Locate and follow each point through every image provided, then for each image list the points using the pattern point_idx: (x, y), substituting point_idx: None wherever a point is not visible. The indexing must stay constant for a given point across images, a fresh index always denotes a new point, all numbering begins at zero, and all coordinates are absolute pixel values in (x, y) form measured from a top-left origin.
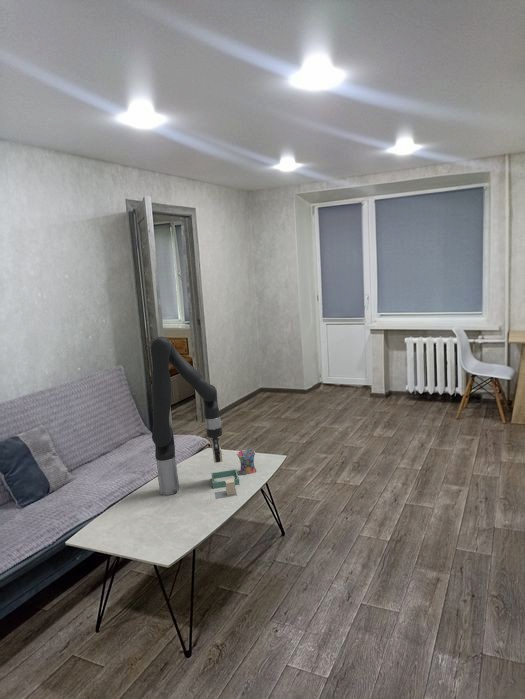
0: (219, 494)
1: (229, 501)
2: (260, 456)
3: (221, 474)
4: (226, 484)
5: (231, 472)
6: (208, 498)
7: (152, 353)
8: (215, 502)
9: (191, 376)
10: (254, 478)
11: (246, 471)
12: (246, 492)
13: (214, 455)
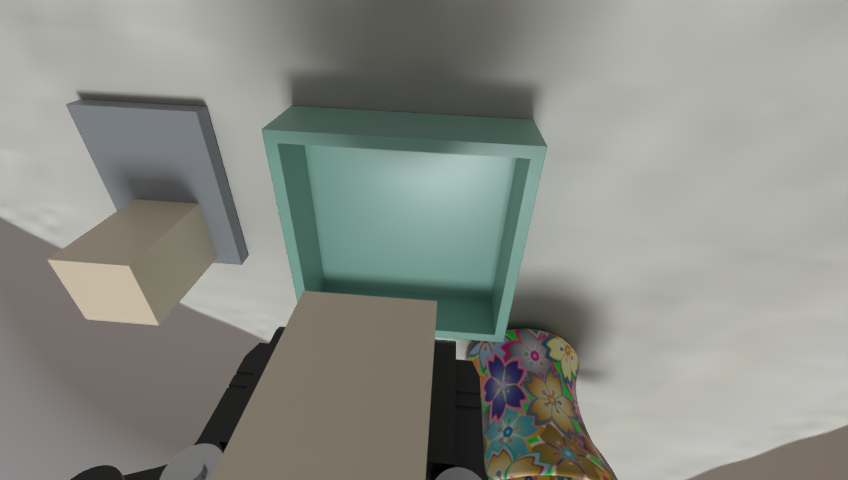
0: (155, 147)
1: (87, 194)
2: (724, 443)
3: (510, 225)
4: (61, 255)
5: (498, 298)
6: (130, 38)
7: None
8: (57, 93)
9: None
10: None
11: (476, 369)
12: (222, 300)
13: (252, 420)
